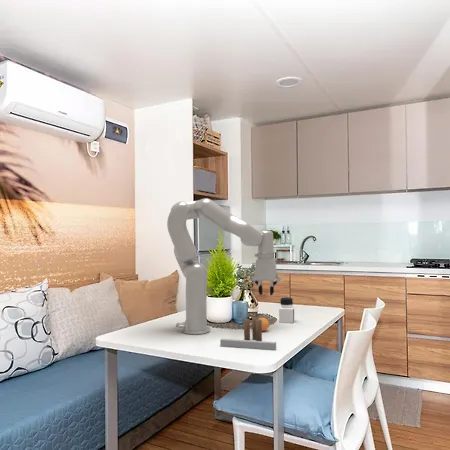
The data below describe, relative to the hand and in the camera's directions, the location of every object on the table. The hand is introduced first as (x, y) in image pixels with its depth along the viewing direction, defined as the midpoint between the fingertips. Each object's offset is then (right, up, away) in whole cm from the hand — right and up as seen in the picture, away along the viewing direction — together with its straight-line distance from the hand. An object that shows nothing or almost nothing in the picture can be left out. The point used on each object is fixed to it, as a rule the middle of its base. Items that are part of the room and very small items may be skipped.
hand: (266, 294), depth 199 cm
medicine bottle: (+11, -16, +10) cm, 22 cm away
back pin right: (-6, -15, -29) cm, 33 cm away
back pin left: (-11, -15, -27) cm, 33 cm away
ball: (-3, -12, -9) cm, 16 cm away
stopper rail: (-11, -15, -36) cm, 41 cm away
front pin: (-7, -15, -24) cm, 29 cm away
